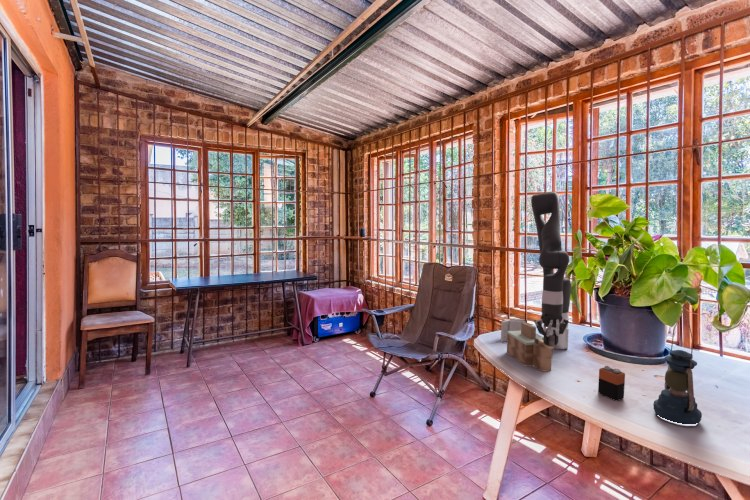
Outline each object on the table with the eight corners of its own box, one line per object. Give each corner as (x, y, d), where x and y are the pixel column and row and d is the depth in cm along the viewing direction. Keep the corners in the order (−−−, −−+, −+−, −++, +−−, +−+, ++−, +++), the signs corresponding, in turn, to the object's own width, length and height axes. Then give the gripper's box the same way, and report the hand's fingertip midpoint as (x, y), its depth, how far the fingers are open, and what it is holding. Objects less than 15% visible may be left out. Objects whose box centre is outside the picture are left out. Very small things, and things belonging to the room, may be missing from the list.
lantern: (644, 405, 130) (650, 301, 127) (685, 409, 127) (692, 302, 124) (666, 428, 116) (674, 311, 113) (712, 432, 114) (722, 313, 110)
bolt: (537, 342, 162) (537, 330, 162) (543, 342, 162) (544, 330, 162) (549, 349, 154) (549, 336, 153) (555, 349, 154) (556, 336, 154)
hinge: (501, 341, 195) (502, 322, 194) (496, 338, 200) (497, 319, 199) (527, 340, 197) (528, 320, 196) (522, 337, 202) (522, 318, 201)
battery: (616, 401, 133) (618, 372, 132) (597, 393, 139) (598, 365, 138) (624, 398, 135) (626, 370, 134) (605, 390, 141) (606, 363, 140)
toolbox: (506, 352, 179) (507, 327, 178) (529, 351, 181) (530, 326, 180) (533, 371, 158) (534, 343, 157) (558, 370, 160) (559, 341, 158)
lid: (507, 335, 179) (507, 320, 178) (529, 334, 180) (530, 319, 180) (526, 347, 163) (526, 330, 162) (550, 345, 165) (551, 329, 164)
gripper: (562, 298, 158) (560, 340, 160) (530, 300, 156) (529, 342, 158) (574, 303, 151) (572, 346, 153) (541, 304, 149) (539, 348, 151)
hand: (550, 344), depth 155 cm, fingers closed on bolt, 2 cm apart
